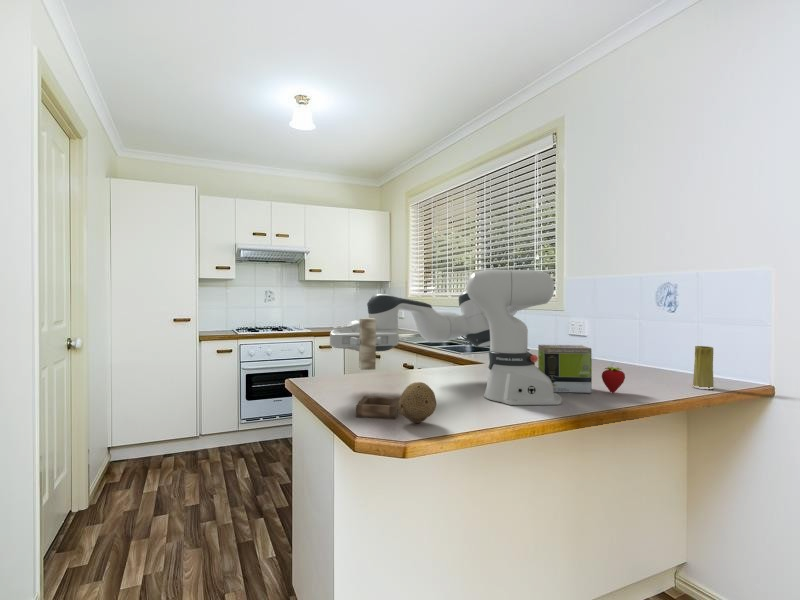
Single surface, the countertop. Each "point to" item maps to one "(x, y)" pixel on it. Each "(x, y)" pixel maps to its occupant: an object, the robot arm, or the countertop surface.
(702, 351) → the vase
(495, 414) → the countertop surface
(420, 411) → the natural sponge
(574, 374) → the tea box
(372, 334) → the beige tall block
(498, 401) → the robot arm
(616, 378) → the strawberry
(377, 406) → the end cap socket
